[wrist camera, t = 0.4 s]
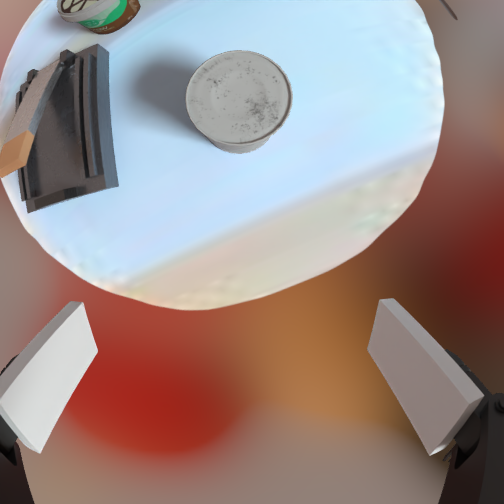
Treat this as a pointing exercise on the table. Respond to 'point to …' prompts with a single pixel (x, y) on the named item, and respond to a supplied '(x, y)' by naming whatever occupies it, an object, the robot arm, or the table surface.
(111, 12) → the food container
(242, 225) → the table surface
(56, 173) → the grey metal tray
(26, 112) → the beige and orange bar
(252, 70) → the concrete plant pot
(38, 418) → the robot arm
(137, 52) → the table surface
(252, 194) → the table surface
